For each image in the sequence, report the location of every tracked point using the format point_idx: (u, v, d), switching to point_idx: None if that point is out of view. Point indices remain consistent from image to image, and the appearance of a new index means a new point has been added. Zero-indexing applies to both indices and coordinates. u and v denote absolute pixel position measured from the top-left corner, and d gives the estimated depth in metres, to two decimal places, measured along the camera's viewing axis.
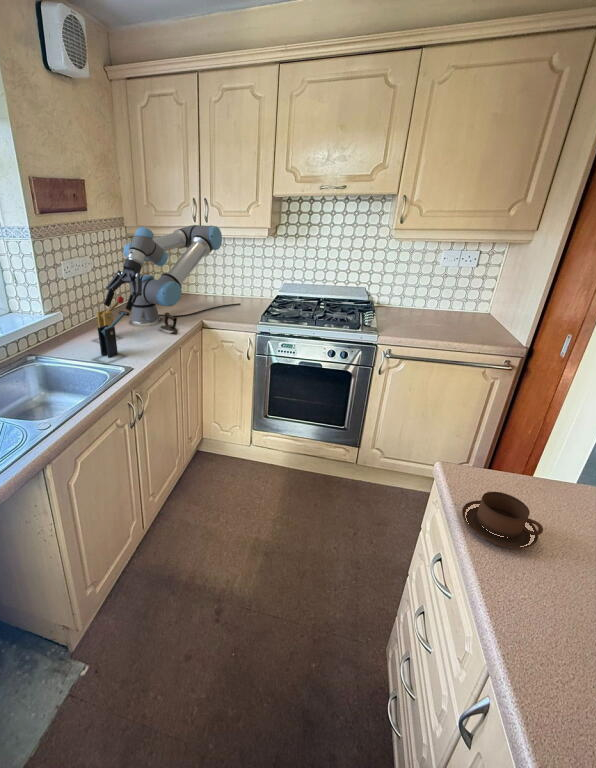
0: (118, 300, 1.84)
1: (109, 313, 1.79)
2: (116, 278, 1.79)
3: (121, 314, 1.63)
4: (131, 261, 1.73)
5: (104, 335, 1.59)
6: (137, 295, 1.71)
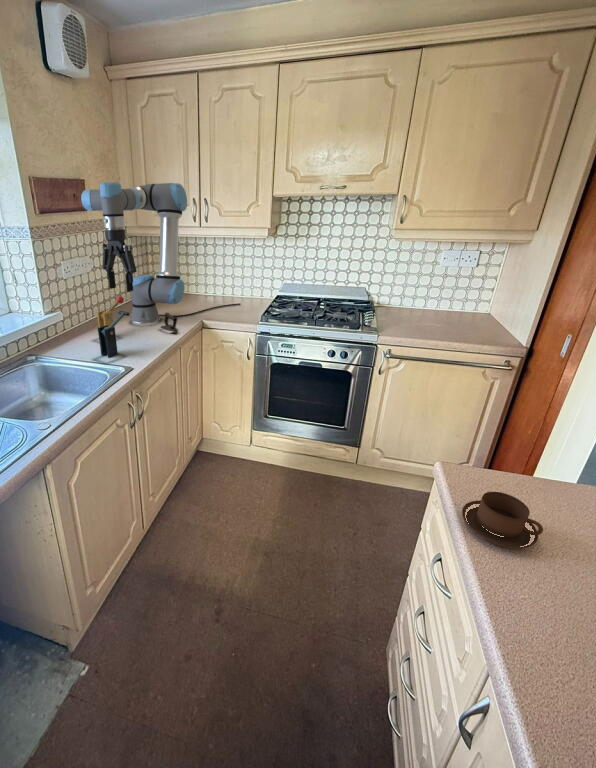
0: (118, 300, 1.84)
1: (109, 313, 1.79)
2: (106, 253, 1.57)
3: (121, 314, 1.63)
4: (111, 232, 1.48)
5: (104, 335, 1.59)
6: (132, 273, 1.53)
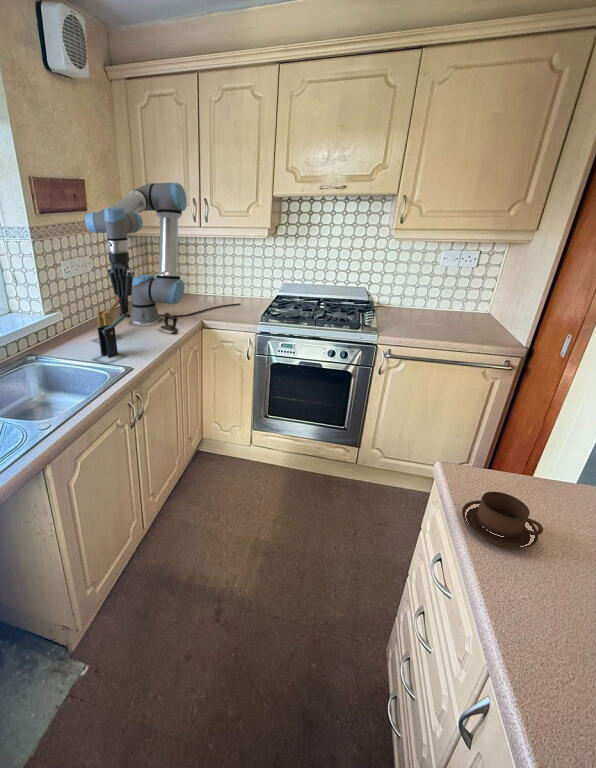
0: (118, 300, 1.84)
1: (109, 313, 1.79)
2: (113, 278, 1.60)
3: (122, 316, 1.64)
4: (115, 256, 1.51)
5: (104, 335, 1.59)
6: (127, 296, 1.60)
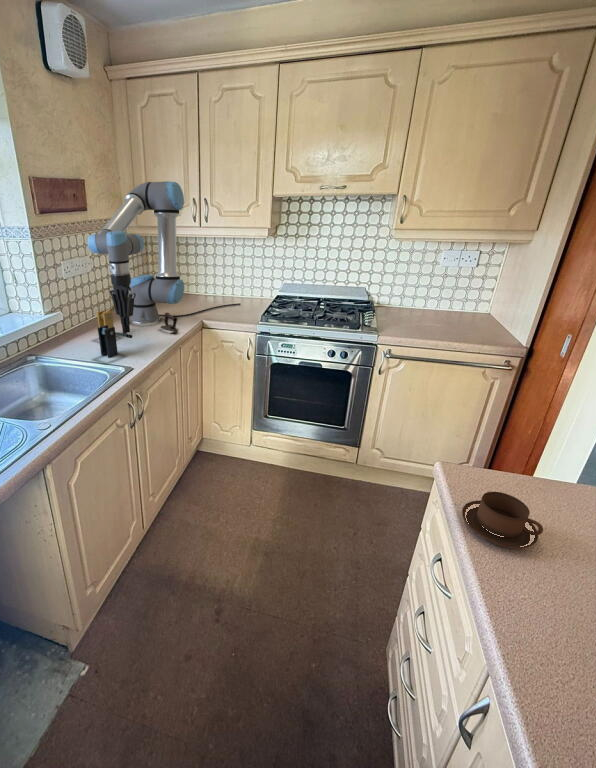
0: None
1: (109, 313, 1.79)
2: (115, 298, 1.63)
3: (125, 334, 1.67)
4: (117, 278, 1.55)
5: (102, 333, 1.58)
6: (129, 316, 1.63)
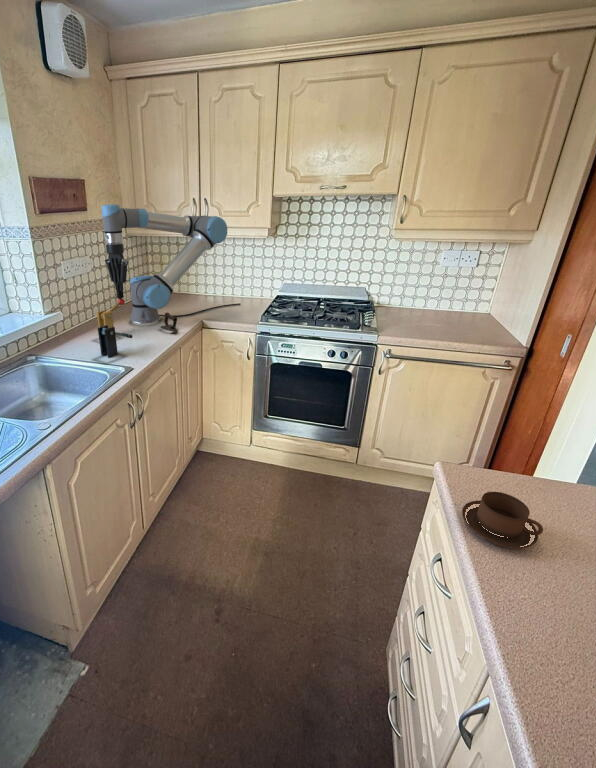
0: (119, 302, 1.84)
1: (109, 313, 1.79)
2: (110, 266, 1.81)
3: (125, 334, 1.67)
4: (111, 247, 1.72)
5: (102, 333, 1.58)
6: (122, 283, 1.81)
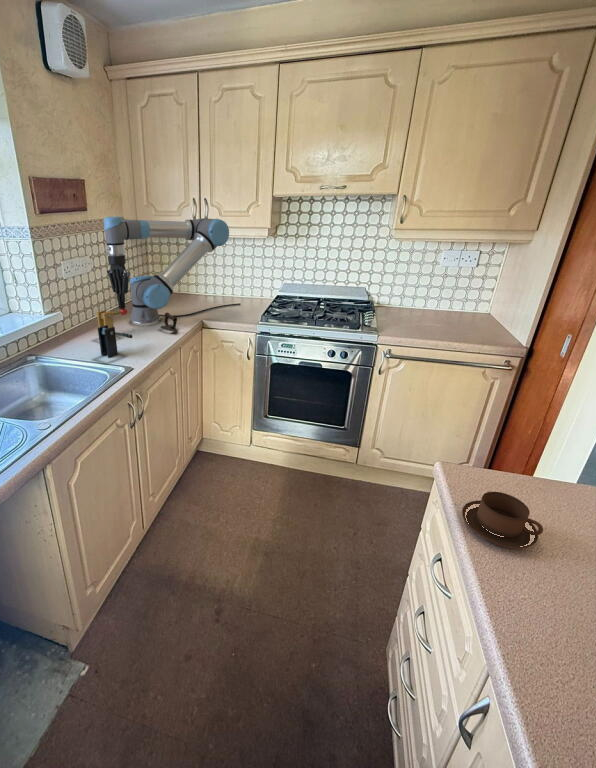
0: (122, 310, 1.87)
1: (109, 313, 1.79)
2: (112, 277, 1.83)
3: (125, 334, 1.67)
4: (114, 258, 1.74)
5: (102, 333, 1.58)
6: (124, 293, 1.83)
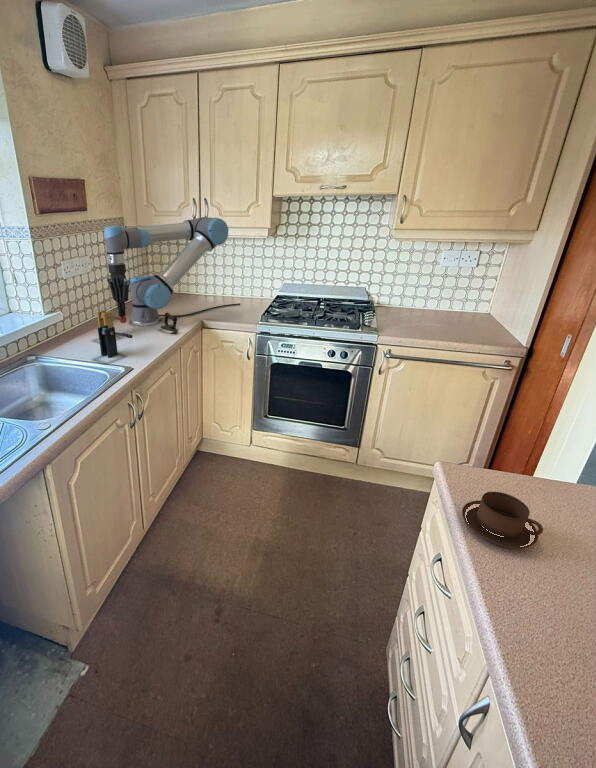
0: (122, 318, 1.88)
1: (109, 313, 1.79)
2: (112, 286, 1.85)
3: (125, 334, 1.67)
4: (114, 267, 1.76)
5: (102, 333, 1.58)
6: (124, 301, 1.84)
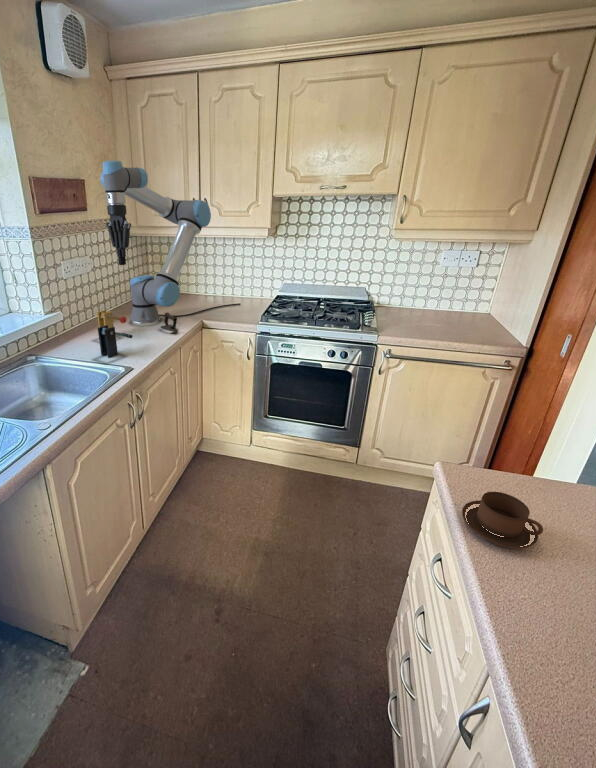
0: (122, 318, 1.88)
1: (109, 313, 1.79)
2: (111, 230, 1.70)
3: (125, 334, 1.67)
4: (113, 207, 1.61)
5: (102, 333, 1.58)
6: (125, 248, 1.70)
